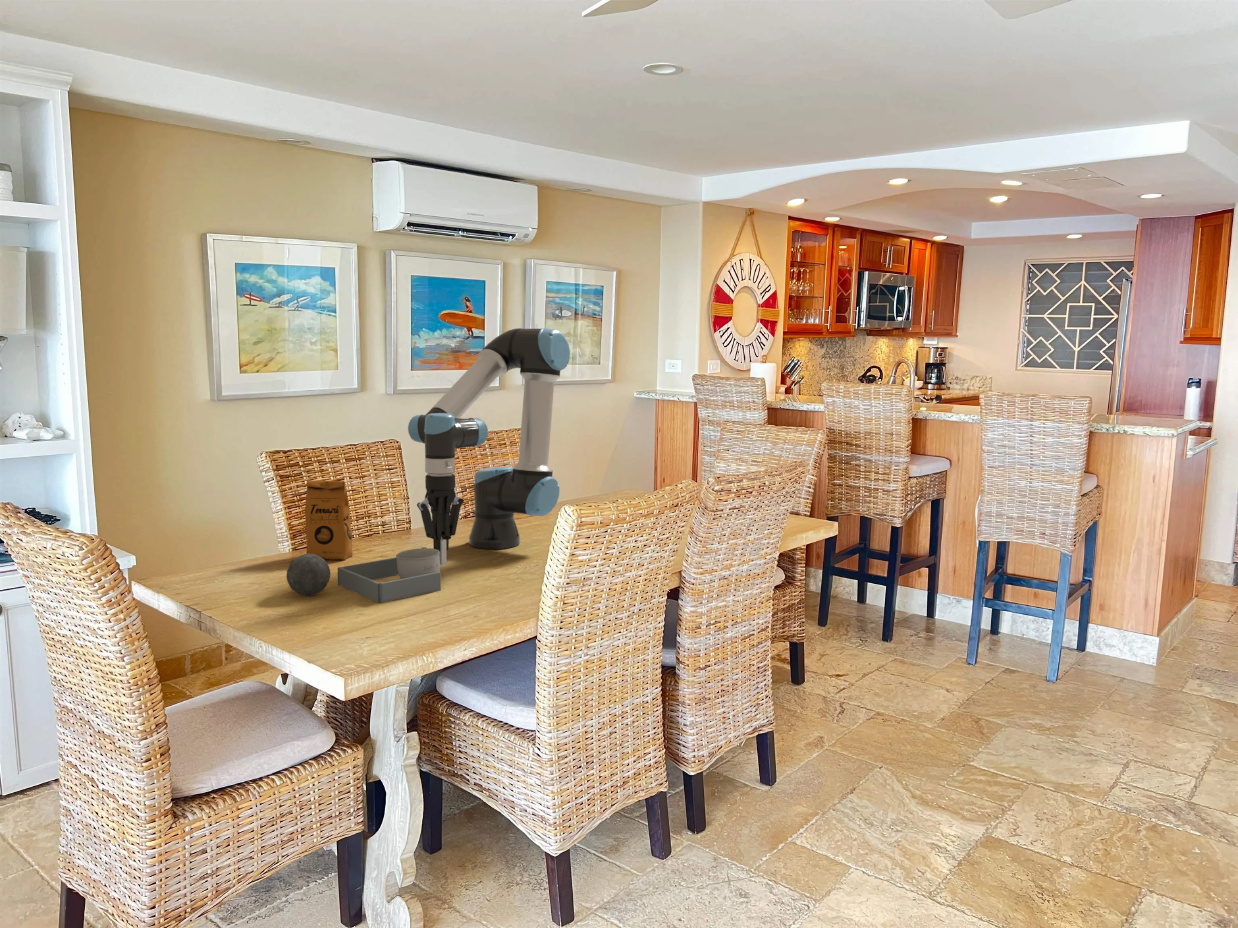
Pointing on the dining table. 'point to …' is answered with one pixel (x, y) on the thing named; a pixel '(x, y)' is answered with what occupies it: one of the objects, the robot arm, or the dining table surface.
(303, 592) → the decorative ball
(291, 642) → the dining table surface
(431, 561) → the teacup
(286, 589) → the dining table surface
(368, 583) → the box
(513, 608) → the dining table surface
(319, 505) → the coffee package
